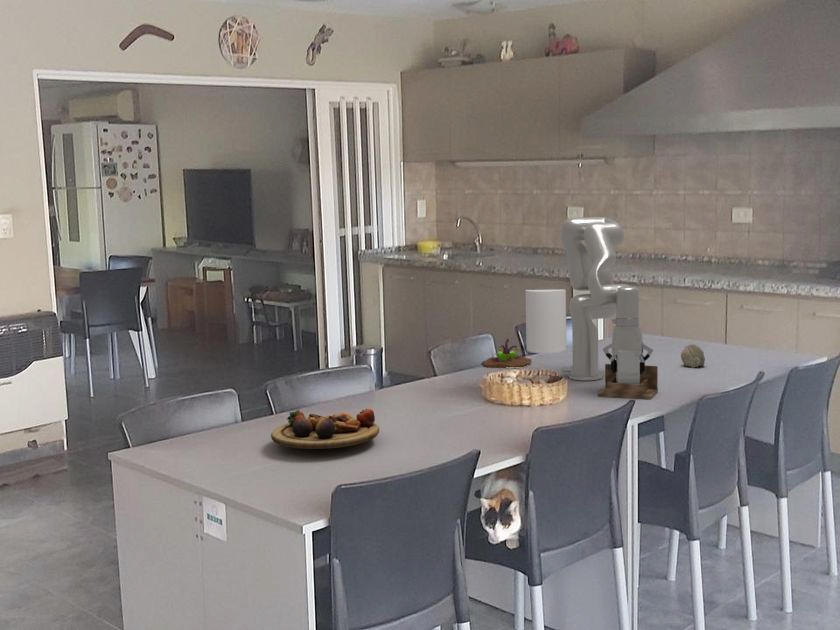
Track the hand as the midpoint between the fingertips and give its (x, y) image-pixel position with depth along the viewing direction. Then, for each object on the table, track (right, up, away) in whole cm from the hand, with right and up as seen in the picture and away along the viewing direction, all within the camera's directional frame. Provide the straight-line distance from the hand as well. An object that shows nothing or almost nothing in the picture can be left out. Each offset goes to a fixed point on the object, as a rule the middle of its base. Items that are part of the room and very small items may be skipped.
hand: (627, 372), depth 336 cm
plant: (-36, -1, +64) cm, 74 cm away
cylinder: (-16, +3, +91) cm, 93 cm away
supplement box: (0, -5, +1) cm, 5 cm away
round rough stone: (+35, -1, +44) cm, 56 cm away
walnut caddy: (0, -7, +1) cm, 8 cm away
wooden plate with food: (-99, -17, -45) cm, 110 cm away
